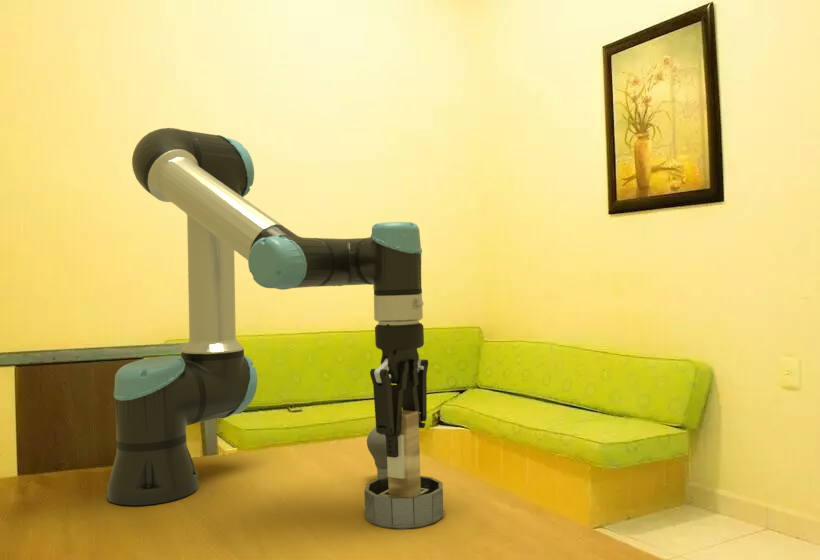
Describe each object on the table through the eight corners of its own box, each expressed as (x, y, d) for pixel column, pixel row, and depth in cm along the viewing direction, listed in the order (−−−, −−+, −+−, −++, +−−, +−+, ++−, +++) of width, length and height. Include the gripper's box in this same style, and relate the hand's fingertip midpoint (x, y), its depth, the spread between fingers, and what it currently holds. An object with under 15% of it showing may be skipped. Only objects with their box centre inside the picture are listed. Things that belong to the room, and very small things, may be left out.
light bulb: (397, 485, 126) (395, 429, 126) (364, 484, 128) (362, 428, 128) (404, 476, 132) (402, 422, 132) (372, 475, 134) (371, 421, 133)
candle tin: (350, 521, 109) (349, 491, 109) (393, 498, 120) (392, 471, 119) (418, 534, 103) (417, 503, 103) (457, 509, 113) (456, 480, 113)
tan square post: (388, 498, 111) (386, 414, 110) (401, 491, 114) (398, 409, 113) (408, 501, 109) (406, 415, 109) (420, 494, 112) (418, 411, 112)
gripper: (390, 327, 102) (395, 491, 102) (446, 318, 116) (450, 463, 116) (347, 326, 106) (352, 485, 106) (406, 318, 120) (411, 458, 120)
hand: (403, 473), depth 111 cm, fingers closed on tan square post, 4 cm apart
